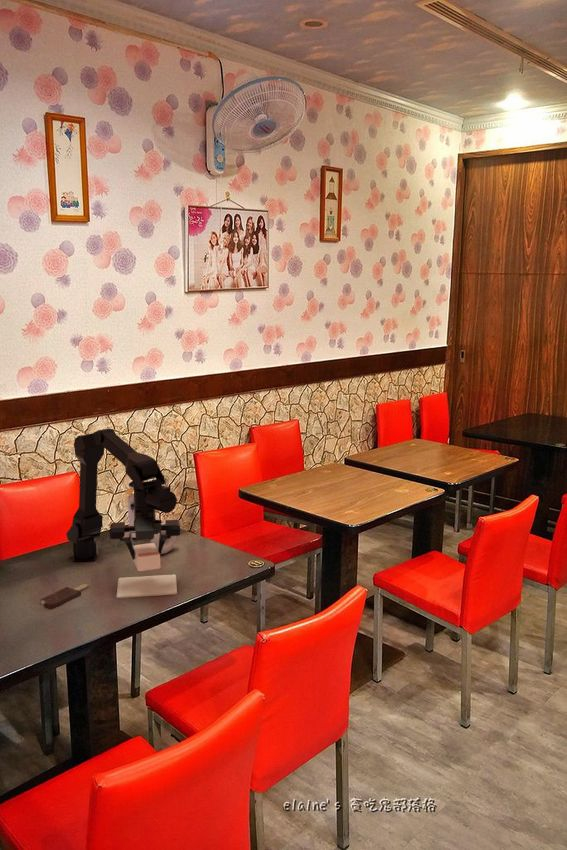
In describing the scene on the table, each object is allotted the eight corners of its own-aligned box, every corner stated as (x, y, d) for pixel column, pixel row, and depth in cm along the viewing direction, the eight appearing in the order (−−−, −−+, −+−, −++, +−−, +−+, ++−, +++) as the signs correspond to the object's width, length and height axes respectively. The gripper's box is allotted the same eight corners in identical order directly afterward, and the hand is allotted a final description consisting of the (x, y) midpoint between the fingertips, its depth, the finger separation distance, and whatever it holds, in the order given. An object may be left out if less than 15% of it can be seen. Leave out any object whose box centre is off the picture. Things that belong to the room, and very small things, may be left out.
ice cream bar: (80, 585, 198) (37, 606, 185) (80, 580, 198) (37, 600, 185) (94, 589, 195) (51, 611, 183) (94, 584, 195) (51, 605, 182)
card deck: (132, 558, 198) (132, 545, 198) (154, 556, 201) (153, 542, 200) (138, 571, 190) (137, 557, 189) (160, 568, 192) (160, 554, 191)
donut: (156, 559, 216) (155, 528, 214) (148, 556, 218) (147, 525, 216) (179, 549, 224) (179, 519, 222) (172, 547, 226) (171, 517, 224)
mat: (116, 598, 190) (116, 596, 189) (118, 579, 201) (118, 577, 201) (177, 594, 192) (177, 592, 192) (175, 576, 204) (175, 574, 204)
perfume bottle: (124, 536, 235) (122, 478, 230) (141, 533, 237) (139, 475, 233) (130, 541, 230) (128, 482, 226) (147, 538, 233) (145, 480, 228)
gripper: (107, 516, 182) (109, 572, 186) (180, 512, 186) (181, 568, 189) (109, 502, 193) (112, 556, 196) (179, 499, 196) (180, 552, 200)
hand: (146, 558), depth 195 cm, fingers closed on card deck, 6 cm apart
